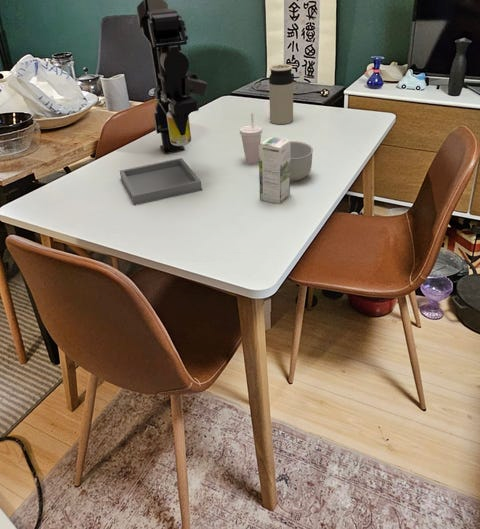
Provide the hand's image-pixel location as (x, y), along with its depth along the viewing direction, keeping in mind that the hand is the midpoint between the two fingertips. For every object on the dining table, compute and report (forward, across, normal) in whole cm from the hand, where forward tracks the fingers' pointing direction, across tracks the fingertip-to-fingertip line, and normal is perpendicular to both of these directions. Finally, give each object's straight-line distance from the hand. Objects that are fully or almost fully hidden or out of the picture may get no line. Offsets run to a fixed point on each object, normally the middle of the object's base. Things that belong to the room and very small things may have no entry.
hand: (179, 131), depth 128 cm
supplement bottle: (+3, 0, 0) cm, 3 cm away
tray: (+13, 0, +7) cm, 15 cm away
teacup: (+13, -14, -24) cm, 31 cm away
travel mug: (+13, +28, -44) cm, 54 cm away
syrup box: (+13, -23, -16) cm, 31 cm away
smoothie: (+13, +1, -21) cm, 25 cm away
